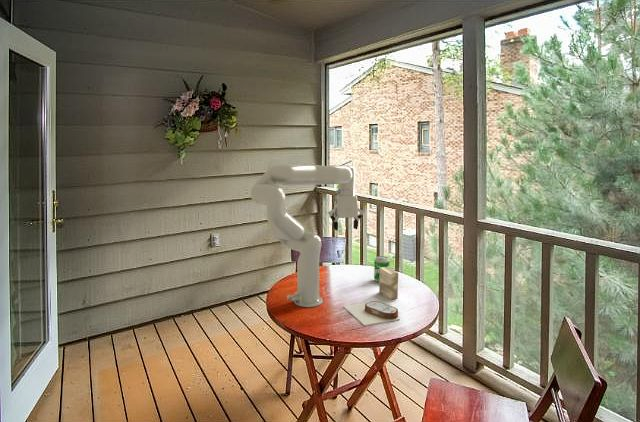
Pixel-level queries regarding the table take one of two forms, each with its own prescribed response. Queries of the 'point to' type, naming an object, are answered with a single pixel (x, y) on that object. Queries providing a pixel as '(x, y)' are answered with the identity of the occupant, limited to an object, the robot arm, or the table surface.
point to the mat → (365, 315)
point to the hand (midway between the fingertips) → (345, 229)
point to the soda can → (378, 263)
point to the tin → (381, 310)
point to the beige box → (388, 283)
